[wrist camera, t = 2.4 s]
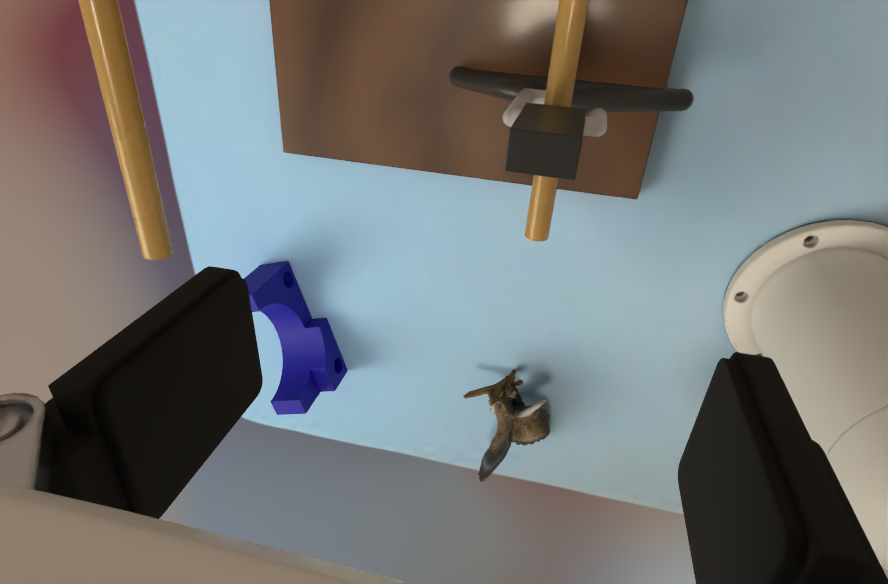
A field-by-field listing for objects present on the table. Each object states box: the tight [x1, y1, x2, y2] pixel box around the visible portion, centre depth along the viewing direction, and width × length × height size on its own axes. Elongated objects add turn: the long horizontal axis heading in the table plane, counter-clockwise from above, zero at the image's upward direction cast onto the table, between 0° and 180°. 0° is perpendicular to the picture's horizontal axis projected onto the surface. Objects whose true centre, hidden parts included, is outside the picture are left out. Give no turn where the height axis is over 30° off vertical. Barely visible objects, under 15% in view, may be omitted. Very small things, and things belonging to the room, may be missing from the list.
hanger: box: [449, 66, 693, 180], centre depth 26 cm, size 14×2×15 cm, turn 87°
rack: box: [78, 0, 688, 260], centre depth 27 cm, size 26×14×21 cm, turn 87°
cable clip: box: [244, 261, 347, 415], centre depth 48 cm, size 12×4×6 cm, turn 15°
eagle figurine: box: [464, 369, 550, 482], centre depth 47 cm, size 8×7×9 cm
